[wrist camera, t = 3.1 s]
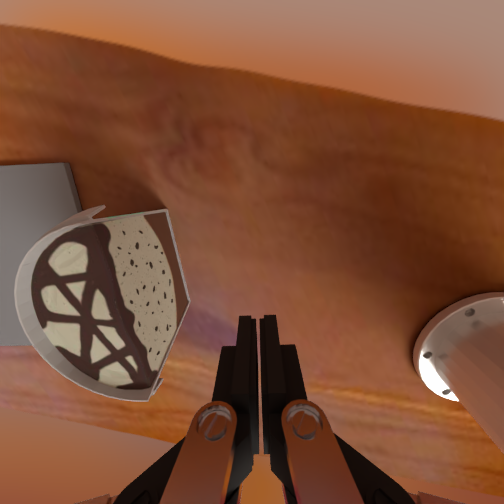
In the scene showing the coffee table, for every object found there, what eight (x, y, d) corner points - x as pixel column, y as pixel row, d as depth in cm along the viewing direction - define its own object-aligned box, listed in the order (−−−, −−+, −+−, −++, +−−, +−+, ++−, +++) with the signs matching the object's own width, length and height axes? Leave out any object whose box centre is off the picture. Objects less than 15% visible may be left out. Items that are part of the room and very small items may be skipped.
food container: (95, 200, 21) (-44, 227, 11) (163, 190, 20) (76, 211, 11) (136, 319, 25) (58, 413, 15) (193, 314, 24) (150, 407, 15)
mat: (68, 162, 20) (63, 162, 19) (118, 340, 26) (115, 344, 25) (-87, 170, 21) (-97, 170, 20) (-4, 341, 27) (-10, 345, 26)
